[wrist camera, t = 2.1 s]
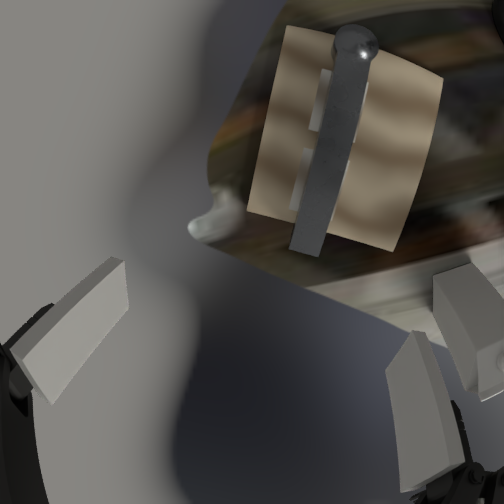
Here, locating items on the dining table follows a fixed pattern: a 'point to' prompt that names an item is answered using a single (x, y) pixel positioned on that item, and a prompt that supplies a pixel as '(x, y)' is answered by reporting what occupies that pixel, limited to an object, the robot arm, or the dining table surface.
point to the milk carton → (472, 327)
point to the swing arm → (334, 136)
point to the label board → (364, 144)
